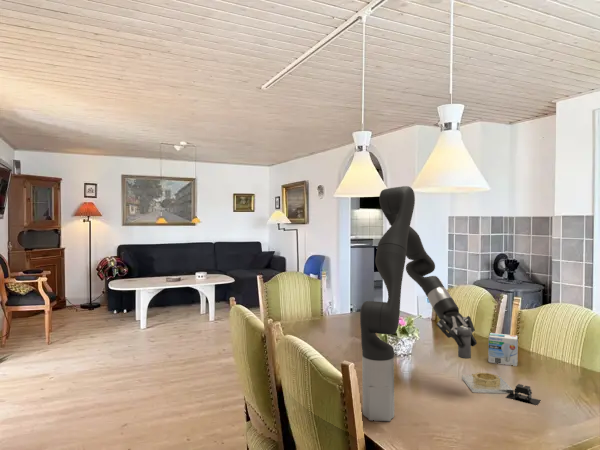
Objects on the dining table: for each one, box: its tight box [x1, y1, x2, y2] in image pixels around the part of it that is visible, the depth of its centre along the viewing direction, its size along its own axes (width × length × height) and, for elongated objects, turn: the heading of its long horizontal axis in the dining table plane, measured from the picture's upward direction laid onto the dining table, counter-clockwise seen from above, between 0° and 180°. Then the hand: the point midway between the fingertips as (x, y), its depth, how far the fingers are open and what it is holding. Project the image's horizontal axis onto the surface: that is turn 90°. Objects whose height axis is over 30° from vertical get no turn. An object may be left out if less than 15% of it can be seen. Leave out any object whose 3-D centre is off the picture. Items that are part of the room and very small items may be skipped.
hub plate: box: [461, 371, 515, 395], centre depth 148 cm, size 13×13×4 cm
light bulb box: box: [487, 332, 519, 367], centre depth 174 cm, size 11×7×11 cm, turn 62°
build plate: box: [505, 383, 542, 406], centre depth 137 cm, size 12×7×5 cm, turn 47°
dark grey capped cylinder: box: [457, 326, 472, 360], centre depth 142 cm, size 4×4×10 cm
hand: (468, 345), depth 141 cm, fingers closed on dark grey capped cylinder, 4 cm apart
